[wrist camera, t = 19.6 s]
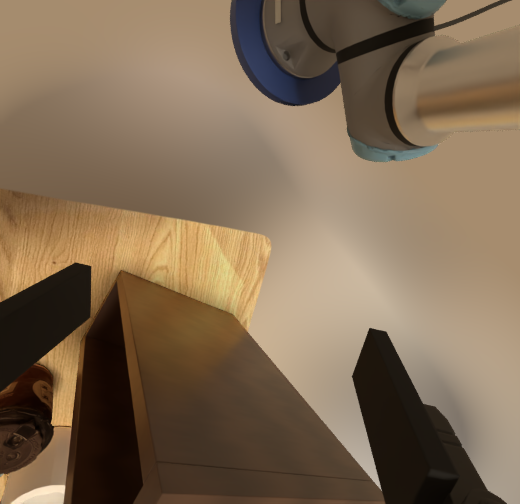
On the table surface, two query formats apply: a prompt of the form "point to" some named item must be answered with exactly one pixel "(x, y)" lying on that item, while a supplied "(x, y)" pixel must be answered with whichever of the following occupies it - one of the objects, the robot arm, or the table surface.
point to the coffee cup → (25, 418)
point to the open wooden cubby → (194, 413)
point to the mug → (42, 474)
